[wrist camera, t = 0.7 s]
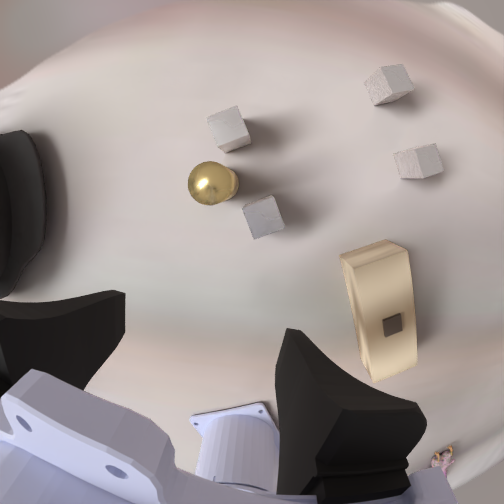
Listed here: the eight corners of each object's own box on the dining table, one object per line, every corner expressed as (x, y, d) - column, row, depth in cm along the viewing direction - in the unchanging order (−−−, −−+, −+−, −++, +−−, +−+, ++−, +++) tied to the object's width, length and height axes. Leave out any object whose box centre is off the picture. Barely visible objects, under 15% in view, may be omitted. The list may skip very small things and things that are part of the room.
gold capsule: (243, 193, 20) (237, 195, 15) (213, 205, 20) (197, 211, 15) (231, 162, 19) (221, 154, 15) (200, 175, 20) (181, 171, 15)
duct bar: (399, 341, 23) (418, 367, 18) (359, 357, 23) (374, 385, 19) (384, 238, 20) (409, 251, 16) (338, 254, 21) (355, 270, 17)
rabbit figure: (422, 449, 28) (409, 496, 29) (436, 472, 22) (418, 517, 23) (454, 434, 28) (438, 484, 29) (470, 454, 22) (449, 502, 23)
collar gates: (419, 172, 19) (444, 171, 15) (255, 230, 20) (254, 239, 17) (384, 79, 17) (402, 64, 14) (215, 128, 19) (206, 117, 15)
